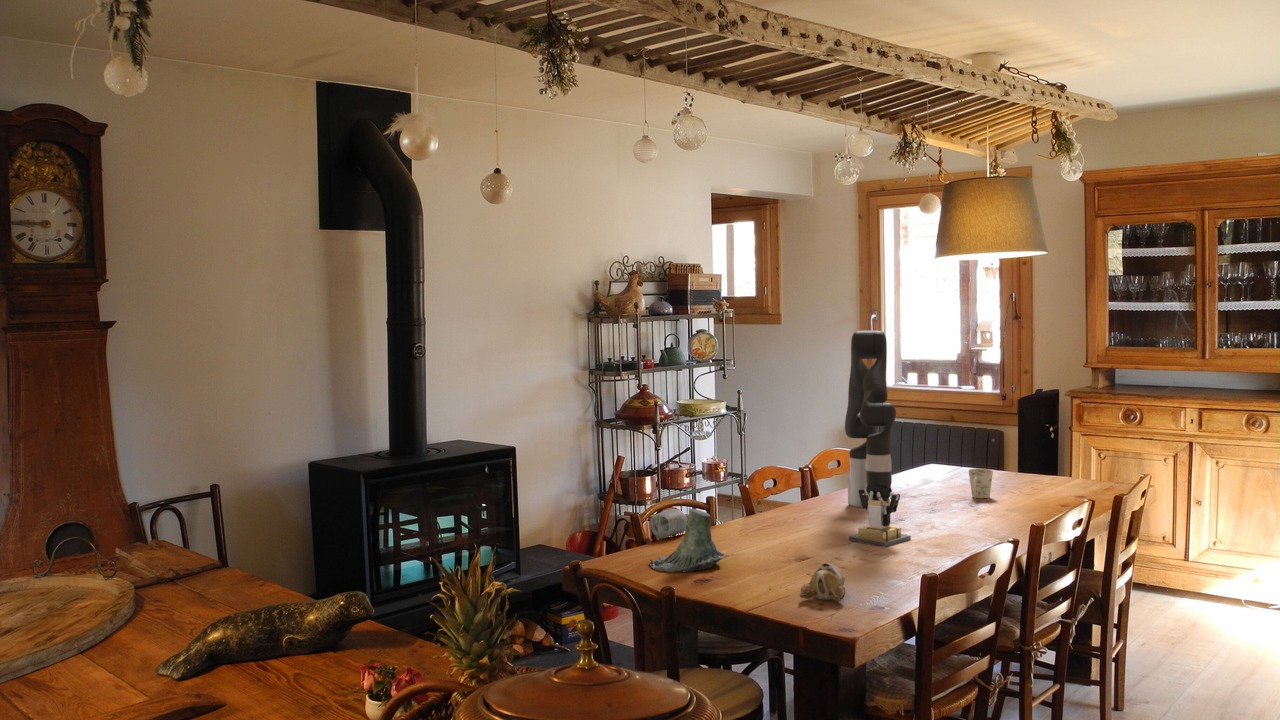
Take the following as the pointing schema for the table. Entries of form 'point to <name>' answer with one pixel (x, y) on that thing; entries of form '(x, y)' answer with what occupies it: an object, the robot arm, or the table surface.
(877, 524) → the white upright block
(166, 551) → the table surface
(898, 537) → the fitting socket
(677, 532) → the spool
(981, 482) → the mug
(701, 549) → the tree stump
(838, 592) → the ceramic sculpture
